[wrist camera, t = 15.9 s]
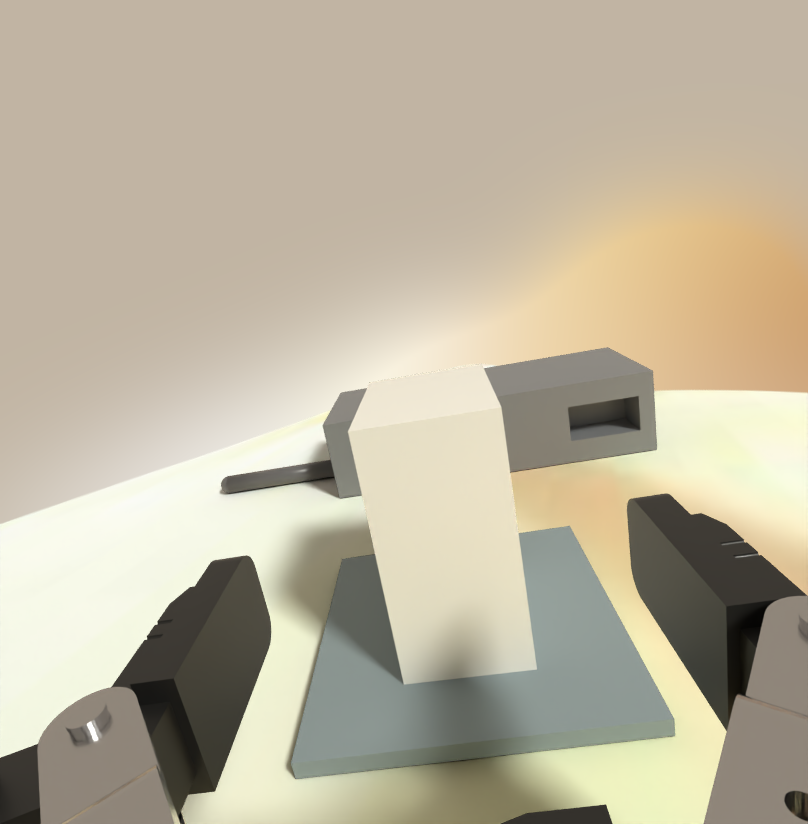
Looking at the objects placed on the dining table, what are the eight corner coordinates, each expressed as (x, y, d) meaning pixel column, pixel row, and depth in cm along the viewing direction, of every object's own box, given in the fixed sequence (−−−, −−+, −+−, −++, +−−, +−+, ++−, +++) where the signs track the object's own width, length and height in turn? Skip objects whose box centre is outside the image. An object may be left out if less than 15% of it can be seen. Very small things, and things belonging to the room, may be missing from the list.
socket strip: (203, 519, 36) (178, 440, 34) (241, 471, 43) (222, 405, 42) (657, 449, 33) (652, 360, 32) (612, 412, 41) (607, 339, 39)
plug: (404, 684, 18) (347, 431, 16) (411, 543, 27) (376, 366, 24) (537, 669, 18) (501, 407, 15) (501, 531, 26) (475, 349, 24)
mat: (295, 778, 16) (290, 763, 16) (344, 569, 27) (342, 559, 26) (675, 735, 15) (674, 719, 15) (570, 537, 26) (569, 526, 26)
